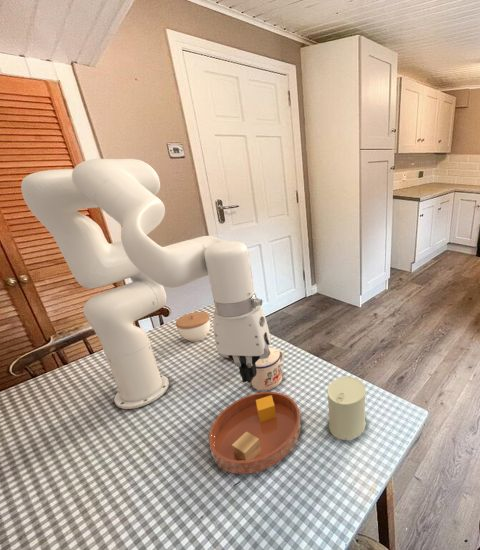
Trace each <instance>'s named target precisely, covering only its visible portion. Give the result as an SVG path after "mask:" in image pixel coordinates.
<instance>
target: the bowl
mask: <svg viewBox="0 0 480 550" xmlns="http://www.w3.org/2000/svg"><path fill="white" fill-rule="evenodd" d="M270 395H272V398H273V402H274V406H275V413H276V418H273V419H270V420H267V421H264V422H261V423H260V421H259V416H258V411H257V405H256V400H257V399H260V398H264V397H267V396H270ZM301 428H302V425H301V414H300V409H299V407H298V404H297V403H296V401H295V400H294V399H293V398H291V397H290V396H288V395H287V394H283V393H282V392H276V391H261V392H256V393H251V394H247V395H245V396H244V397H241V398H238V399H237V400H235V401H234V402H232V403H231V404H229V405H228V406H227V407H225V409H223V410H222V411H221V412H220V413H219V414H218V416H217V417H216V418H215V420H214V421H213V423H212V425H211V427H210V430H209V434H208V443H209V449H210V453H211V455H212V458H213V461H214V463H215V464H216V465H217V466H218V467H219V468H220V469H221V470H223V471H224V472H227V473H231V474H236V475H251V474H255V473H260V472H262V471H265V470H267V469H270V468H271V467H273V466H275V465H277V464H278V463H279V462H281V461H282V460H283V459H284V458H285V457H287V455H288V454H289V453H290V452H291V451H292V450H293V449H294V447H295V445H296V444H297V442H298V441H299V440H298V439H299V437H300V435H301V434H300V433H301ZM245 432H248V433H250V434H251V435H253V436H255V437H256V438H258V439H259V443H260V449H261V452H260V453H259V454H258V455H257V456H256V457H255V458H254V459H251V460H237V459H236V458H235V457H234V453H233V448H232V444H233V443H235V442H236V441H237V440H238V439H239V438H240V437H241V436H242V435H243V434H244V433H245Z"/></svg>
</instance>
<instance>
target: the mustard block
mask: <svg viewBox="0 0 480 550" xmlns="http://www.w3.org/2000/svg"><path fill="white" fill-rule="evenodd" d="M256 405H257V411H258V416H259V421H260V423H261V422H264V421H267V420H270V419H273V418H276V413H275V406H274V402H273V398H272V395H270V396H267V397H264V398H260V399H257V400H256Z"/></svg>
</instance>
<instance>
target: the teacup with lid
mask: <svg viewBox="0 0 480 550" xmlns="http://www.w3.org/2000/svg"><path fill="white" fill-rule="evenodd" d="M268 348H269V350H270V355H269V357H268V358H265V359H259V360H258V361H257V362H255V364H256V370H257V374H256V376H255V377H254V378H253V379H252V381H251V386H252V387H253V388H254V389H256V390H259V391H268V390H271V389H274V388H275V387H277V386H278V385H280V384H281V382H282V380H283V373H282V365H281V363H282V361H283V359H284V352H283V350H281V349H277V348H274V347H271V346H268Z"/></svg>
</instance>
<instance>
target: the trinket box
mask: <svg viewBox="0 0 480 550" xmlns="http://www.w3.org/2000/svg"><path fill="white" fill-rule="evenodd" d="M175 325H176V328H177V331H178V333H179V335H180V336H181V338H183V339H185V340H187V341H189V342H199V341H202V340H203V339H205V338H206V337H207V335H208V334H209V332H210V329H211V319H210V314H209V313H208V312H204V311H194V312H189V313H186V314H184V315H182V316H180V317H179V318H177V320H175Z"/></svg>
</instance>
